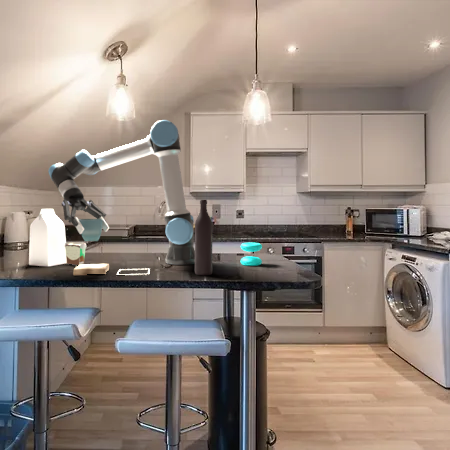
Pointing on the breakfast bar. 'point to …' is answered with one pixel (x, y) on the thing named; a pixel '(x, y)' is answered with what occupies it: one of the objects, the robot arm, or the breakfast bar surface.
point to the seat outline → (133, 274)
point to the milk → (47, 240)
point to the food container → (75, 252)
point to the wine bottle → (203, 241)
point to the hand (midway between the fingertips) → (95, 230)
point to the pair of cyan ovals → (250, 259)
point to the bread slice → (91, 269)
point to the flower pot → (91, 229)
